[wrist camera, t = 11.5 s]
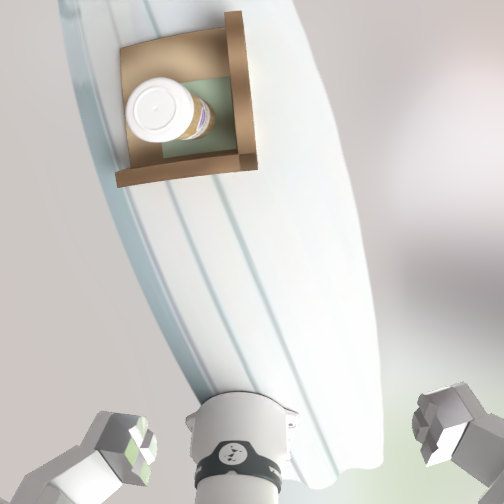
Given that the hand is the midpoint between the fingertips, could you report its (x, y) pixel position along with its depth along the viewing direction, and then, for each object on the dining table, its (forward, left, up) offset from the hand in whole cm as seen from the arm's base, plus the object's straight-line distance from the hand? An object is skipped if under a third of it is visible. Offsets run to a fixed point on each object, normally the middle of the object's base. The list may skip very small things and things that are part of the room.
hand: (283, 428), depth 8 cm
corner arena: (+13, +7, -29) cm, 32 cm away
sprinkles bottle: (+10, +7, -28) cm, 31 cm away
